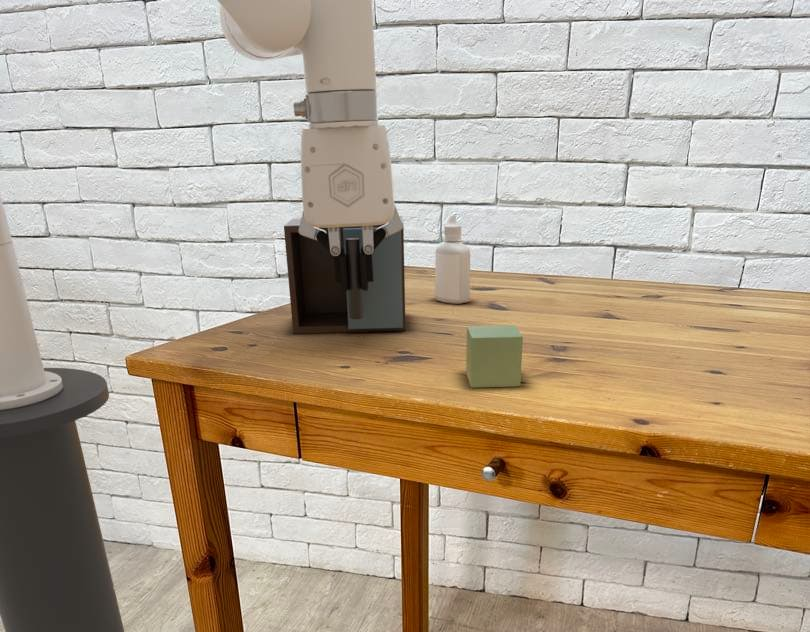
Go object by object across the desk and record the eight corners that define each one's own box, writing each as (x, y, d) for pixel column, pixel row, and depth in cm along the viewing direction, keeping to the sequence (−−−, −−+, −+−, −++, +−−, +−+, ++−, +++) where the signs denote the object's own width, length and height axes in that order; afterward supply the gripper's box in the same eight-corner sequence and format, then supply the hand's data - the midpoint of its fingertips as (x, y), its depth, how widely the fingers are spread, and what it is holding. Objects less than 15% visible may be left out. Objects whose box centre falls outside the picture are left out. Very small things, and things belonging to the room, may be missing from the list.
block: (520, 386, 77) (523, 336, 74) (470, 387, 77) (471, 337, 74) (513, 372, 81) (515, 325, 79) (466, 374, 81) (466, 326, 79)
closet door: (403, 338, 93) (401, 232, 88) (346, 339, 93) (340, 234, 88) (402, 326, 99) (400, 226, 93) (348, 328, 99) (343, 228, 93)
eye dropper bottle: (443, 305, 113) (444, 218, 108) (433, 298, 118) (433, 214, 113) (471, 303, 114) (473, 216, 109) (460, 296, 119) (461, 213, 113)
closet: (405, 330, 100) (403, 223, 93) (293, 333, 99) (283, 225, 93) (404, 316, 108) (402, 215, 101) (300, 318, 107) (291, 218, 101)
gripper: (264, 115, 79) (285, 298, 88) (416, 108, 79) (422, 292, 88) (274, 116, 86) (292, 286, 95) (414, 109, 86) (420, 280, 95)
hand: (355, 287), depth 91 cm, fingers closed on closet door
